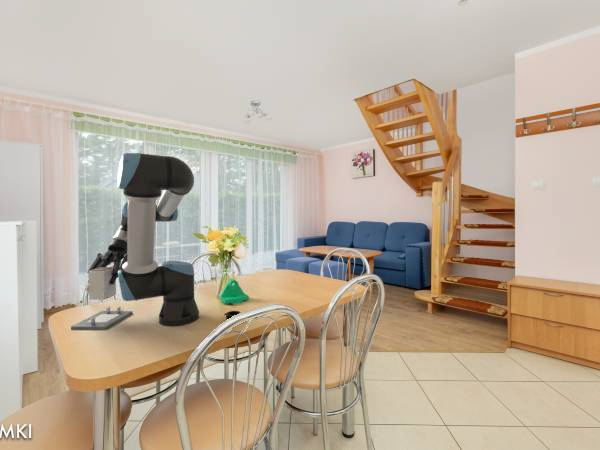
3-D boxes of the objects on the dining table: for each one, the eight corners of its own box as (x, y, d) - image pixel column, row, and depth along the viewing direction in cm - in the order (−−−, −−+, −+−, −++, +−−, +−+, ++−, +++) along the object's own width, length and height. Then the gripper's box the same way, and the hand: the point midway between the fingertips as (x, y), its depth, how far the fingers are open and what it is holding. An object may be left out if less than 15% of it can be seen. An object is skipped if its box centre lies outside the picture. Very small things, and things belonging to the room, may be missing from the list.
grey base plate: (132, 313, 127) (132, 305, 127) (105, 329, 111) (105, 320, 110) (102, 313, 128) (102, 305, 128) (71, 329, 111) (70, 319, 111)
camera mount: (225, 306, 138) (225, 284, 138) (219, 301, 144) (219, 280, 144) (249, 301, 145) (249, 280, 144) (243, 297, 151) (242, 277, 151)
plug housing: (116, 294, 123) (115, 267, 122) (104, 299, 116) (103, 270, 115) (101, 294, 123) (100, 266, 122) (89, 299, 116) (88, 270, 115)
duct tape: (223, 325, 115) (223, 318, 115) (223, 316, 125) (223, 309, 125) (243, 324, 117) (243, 316, 117) (242, 315, 127) (242, 308, 126)
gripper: (146, 248, 133) (125, 296, 118) (104, 248, 134) (77, 295, 118) (139, 238, 128) (116, 286, 112) (95, 237, 128) (66, 285, 113)
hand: (96, 290), depth 115 cm, fingers closed on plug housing, 6 cm apart
